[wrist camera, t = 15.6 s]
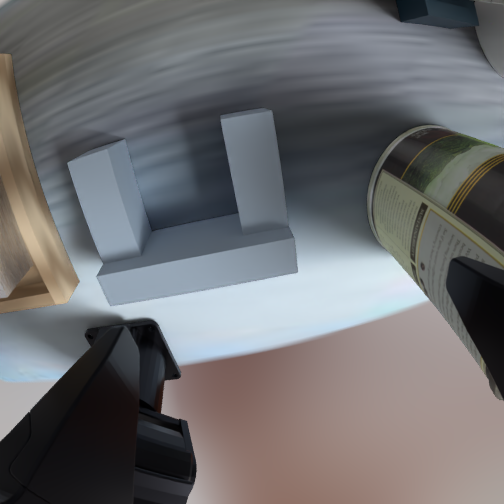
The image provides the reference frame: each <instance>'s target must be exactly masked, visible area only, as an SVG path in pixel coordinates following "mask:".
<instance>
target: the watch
mask: <svg viewBox="0 0 504 504" xmlns="http://www.w3.org/2000/svg"><path fill="white" fill-rule="evenodd" d="M474 1H480V2H485V3H491V1H492V3H494V4H502V5H504V0H396V3H397V7H398V11H399V15H400V20H401V22H405V23H415V24H423V25H430V26H437V27H444V28H450V29H451V28H460V27H470V26H479V21H478V17H477V12H476V8H475V4H474Z"/></svg>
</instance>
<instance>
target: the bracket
mask: <svg viewBox="0 0 504 504" xmlns="http://www.w3.org/2000/svg"><path fill="white" fill-rule="evenodd" d="M220 120H221V125H222V130H223V135H224V141H225V146H226V151H227V156H228V161H229V166H230V171H231V176H232V181H233V186H234V191H235V196H236V201H237V206H238V211H239V213H237V214H232V215H227V216H222V217H217V218H212V219H207V220H202V221H197V222H192V223H187V224H183V225H178V226H173V227H169V228H164V229H159V230H155V231H152V230H151V227H150V224H149V221H148V217H147V214H146V211H145V208H144V204H143V201H142V198H141V194H140V191H139V187H138V184H137V180H136V177H135V173H134V170H133V166H132V162H131V159H130V155H129V151H128V147H127V143H126V139H124V140H120V141H117V142H114V143H111V144H108V145H105V146H101V147H98V148H96V149H93V150H90V151H88V152H86V153H84V154H82V155H80V156H78V157H77V158H75V159H73V160H71V161H69V162H67V164H68V167H69V171H70V174H71V177H72V180H73V183H74V187H75V190H76V193H77V196H78V199H79V202H80V205H81V207H82V210H83V213H84V216H85V219H86V221H87V224H88V227H89V229H90V232H91V235H92V237H93V240H94V242H95V245H96V247H97V250H98V252H99V255H100V257H101V260H102V262H103V266H102V267H101V269H100V271H99V273H98V274H97V276H96V277H97V279H98V281H99V284H100V286H101V288H102V290H103V292H104V294H105V296H106V298H107V300H108V302H109V304H110V306H115V305H122V304H128V303H134V302H140V301H146V300H152V299H158V298H163V297H169V296H175V295H181V294H186V293H192V292H198V291H203V290H209V289H214V288H220V287H225V286H230V285H236V284H241V283H246V282H251V281H257V280H262V279H267V278H272V277H277V276H282V275H287V274H292V273H297V272H298V267H297V257H296V248H295V240H294V236H293V234H292V232H291V230H290V228H289V223H288V215H287V208H286V200H285V193H284V185H283V178H282V171H281V164H280V158H279V151H278V144H277V138H276V131H275V125H274V119H273V112H272V111H271V110H268V109H265V108H259V109H253V110H247V111H241V112H235V113H230V114H225V115H220Z"/></svg>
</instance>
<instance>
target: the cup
mask: <svg viewBox="0 0 504 504" xmlns="http://www.w3.org/2000/svg"><path fill="white" fill-rule="evenodd" d="M475 8H476V12H477V17H478V21H479V26H475V29H476V33H477V37H478V40H479V43H480V45H481V48H482V50H483V52H484V54H485V56H486V58H487V60H488V61H489V63H490V64H491V66H492V67H493V68H494V70H495V71H496V72H497V73H498V74H499V75H500V76H501V77H503V78H504V5H502V4H494V3H492V1H491V3H485V2H480V1H475Z"/></svg>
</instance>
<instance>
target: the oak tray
mask: <svg viewBox="0 0 504 504" xmlns="http://www.w3.org/2000/svg"><path fill="white" fill-rule="evenodd" d="M0 175H1V178H2V181H3V184H4V187H5V190H6V193H7V196H8V199H9V202H10V205H11V207H12V210H13V213H14V216H15V218H16V221H17V224H18V227H19V230H20V232H21V235H22V238H23V240H24V243H25V245H26V248H27V250H28V253H29V255H30V258H31V260H32V263H33V266H32V267H31V268H30V270H29V271H28V272H27V273H26V274H25V276H24V277H23V278H22V279H21V281H20V282H19V283H18V284H17V286H16V287H15V288H14V290H13V291H12V292H11V293H10V295H9V296H8V297H6V298H0V314H1V313H7V312H14V311H20V310H27V309H33V308H39V307H45V306H52V305H58V304H64V303H67V302H68V300H69V299H70V297H71V295H72V293H73V292H74V290H75V288H76V287H77V285H78V283H79V282H80V281H79V279H78V277H77V275H76V273H75V271H74V268H73V266H72V264H71V262H70V259H69V257H68V255H67V253H66V250H65V248H64V246H63V243H62V241H61V238H60V236H59V233H58V231H57V228H56V226H55V223H54V221H53V218H52V215H51V213H50V210H49V207H48V205H47V202H46V199H45V196H44V193H43V190H42V187H41V184H40V181H39V178H38V175H37V172H36V168H35V165H34V162H33V158H32V155H31V151H30V147H29V144H28V140H27V136H26V132H25V128H24V124H23V119H22V115H21V110H20V105H19V100H18V95H17V90H16V84H15V78H14V71H13V64H12V57H11V54H0Z"/></svg>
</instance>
